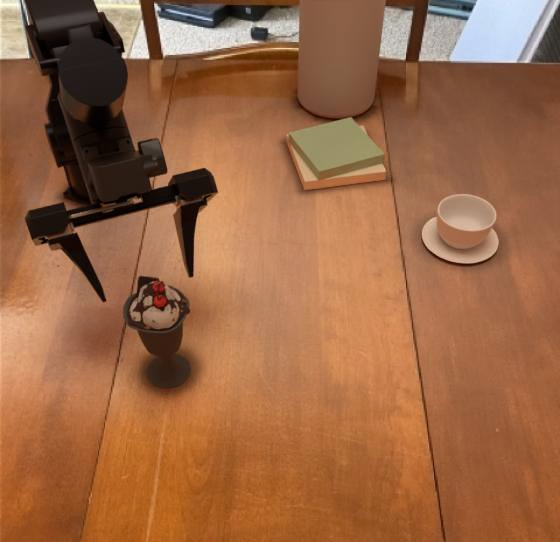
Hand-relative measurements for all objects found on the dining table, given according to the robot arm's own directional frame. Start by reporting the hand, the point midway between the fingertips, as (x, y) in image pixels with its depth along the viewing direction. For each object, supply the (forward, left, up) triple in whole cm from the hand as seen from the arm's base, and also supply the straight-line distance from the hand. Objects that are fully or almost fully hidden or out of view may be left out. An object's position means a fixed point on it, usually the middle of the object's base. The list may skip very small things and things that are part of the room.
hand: (148, 289), depth 70 cm
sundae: (+2, -2, -10) cm, 11 cm away
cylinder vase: (0, +58, -10) cm, 59 cm away
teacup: (+27, +32, -10) cm, 43 cm away
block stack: (+5, +42, -10) cm, 44 cm away
